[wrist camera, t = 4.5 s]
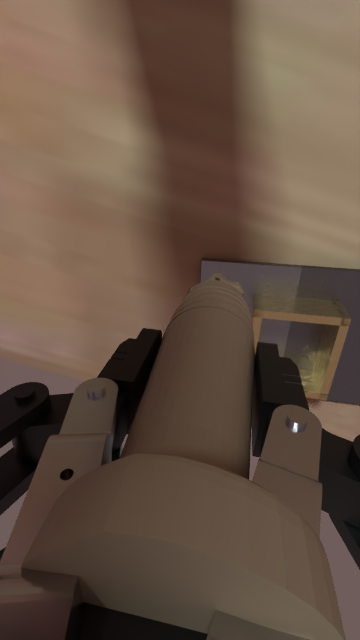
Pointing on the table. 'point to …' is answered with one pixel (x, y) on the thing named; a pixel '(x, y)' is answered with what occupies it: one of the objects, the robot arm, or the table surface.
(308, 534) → the handle
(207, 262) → the square socket base
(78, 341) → the table surface
